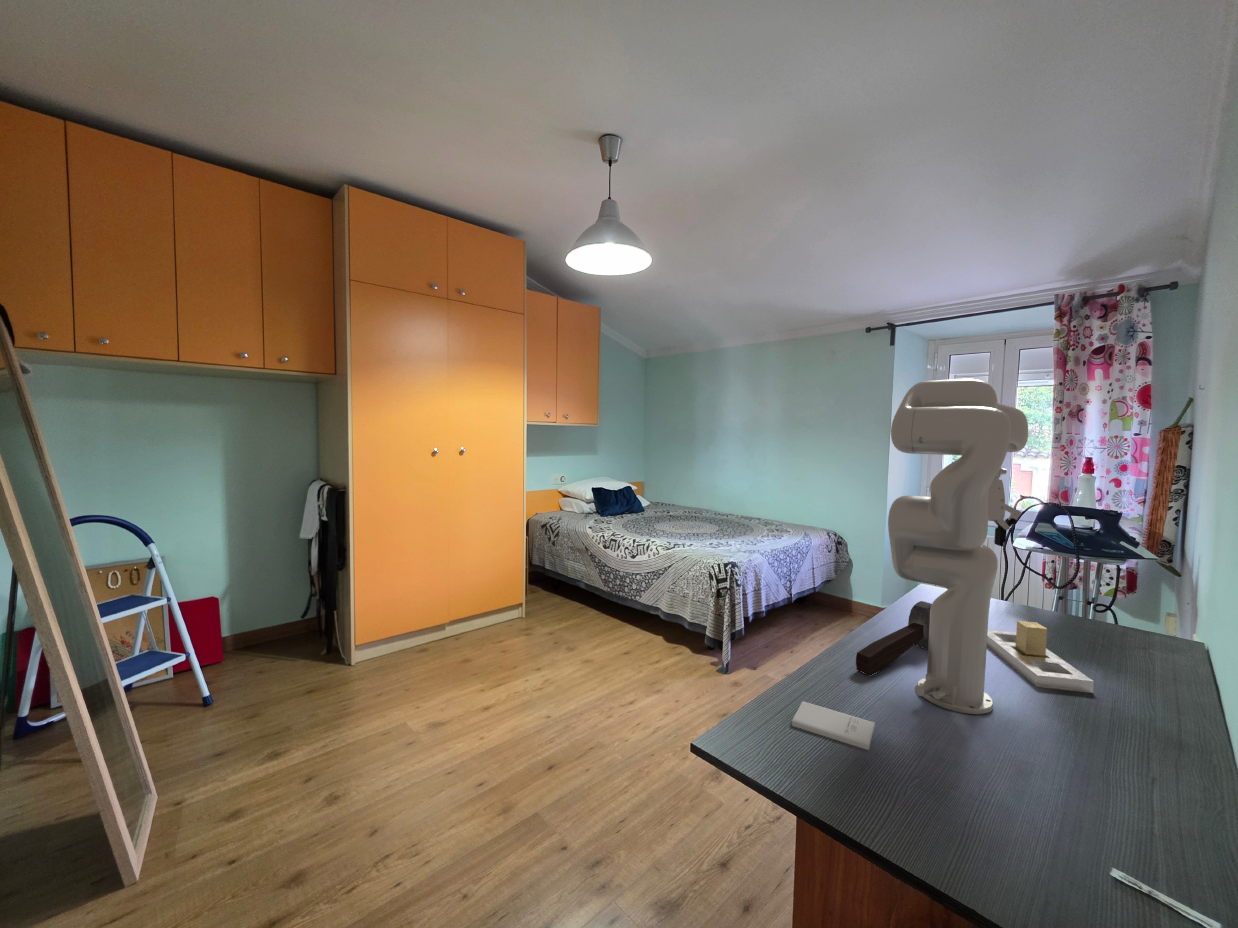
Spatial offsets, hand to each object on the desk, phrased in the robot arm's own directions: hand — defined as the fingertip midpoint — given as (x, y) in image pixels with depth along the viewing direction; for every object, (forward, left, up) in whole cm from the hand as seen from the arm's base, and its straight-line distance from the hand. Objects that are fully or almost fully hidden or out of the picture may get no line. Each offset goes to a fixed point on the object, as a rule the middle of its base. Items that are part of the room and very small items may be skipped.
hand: (975, 543), depth 121 cm
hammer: (-20, +5, -27) cm, 34 cm away
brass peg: (+6, -10, -27) cm, 29 cm away
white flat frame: (+6, -10, -26) cm, 29 cm away
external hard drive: (-57, -8, -27) cm, 64 cm away
